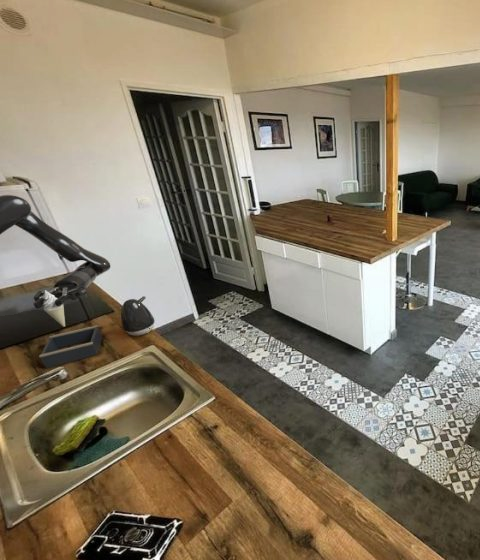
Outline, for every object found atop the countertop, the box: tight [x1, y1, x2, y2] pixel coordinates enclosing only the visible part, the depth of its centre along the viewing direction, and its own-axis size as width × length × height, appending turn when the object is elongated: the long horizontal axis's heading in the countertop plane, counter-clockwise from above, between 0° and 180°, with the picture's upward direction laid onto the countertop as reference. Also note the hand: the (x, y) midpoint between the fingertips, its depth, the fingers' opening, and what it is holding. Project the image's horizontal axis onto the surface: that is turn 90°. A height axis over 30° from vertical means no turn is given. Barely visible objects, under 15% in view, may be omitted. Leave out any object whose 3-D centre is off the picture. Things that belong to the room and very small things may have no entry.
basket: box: [38, 325, 103, 369], centre depth 115 cm, size 14×14×5 cm
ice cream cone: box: [42, 289, 66, 328], centre depth 109 cm, size 5×5×15 cm
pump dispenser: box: [120, 296, 156, 337], centre depth 124 cm, size 10×10×15 cm
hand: (46, 304), depth 105 cm, fingers closed on ice cream cone, 5 cm apart
